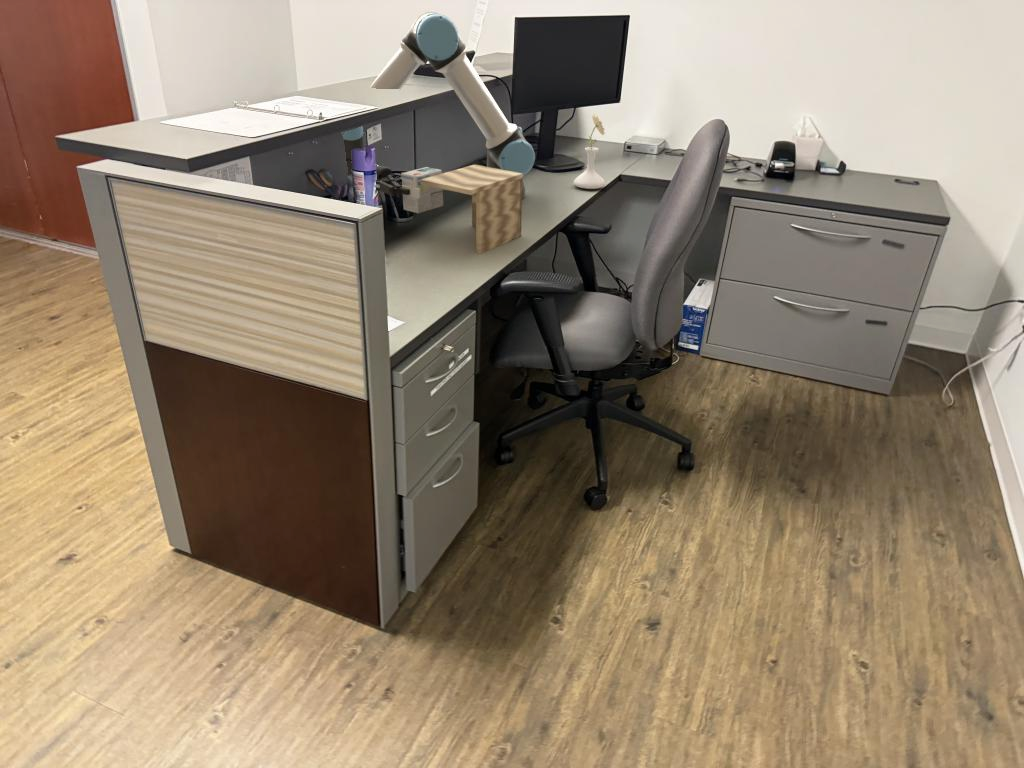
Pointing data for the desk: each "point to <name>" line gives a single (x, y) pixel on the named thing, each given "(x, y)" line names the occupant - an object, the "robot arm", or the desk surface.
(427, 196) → the light bulb box
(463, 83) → the robot arm
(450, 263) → the desk surface
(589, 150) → the flower in vase
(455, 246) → the desk surface
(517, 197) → the wooden monitor riser
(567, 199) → the desk surface
